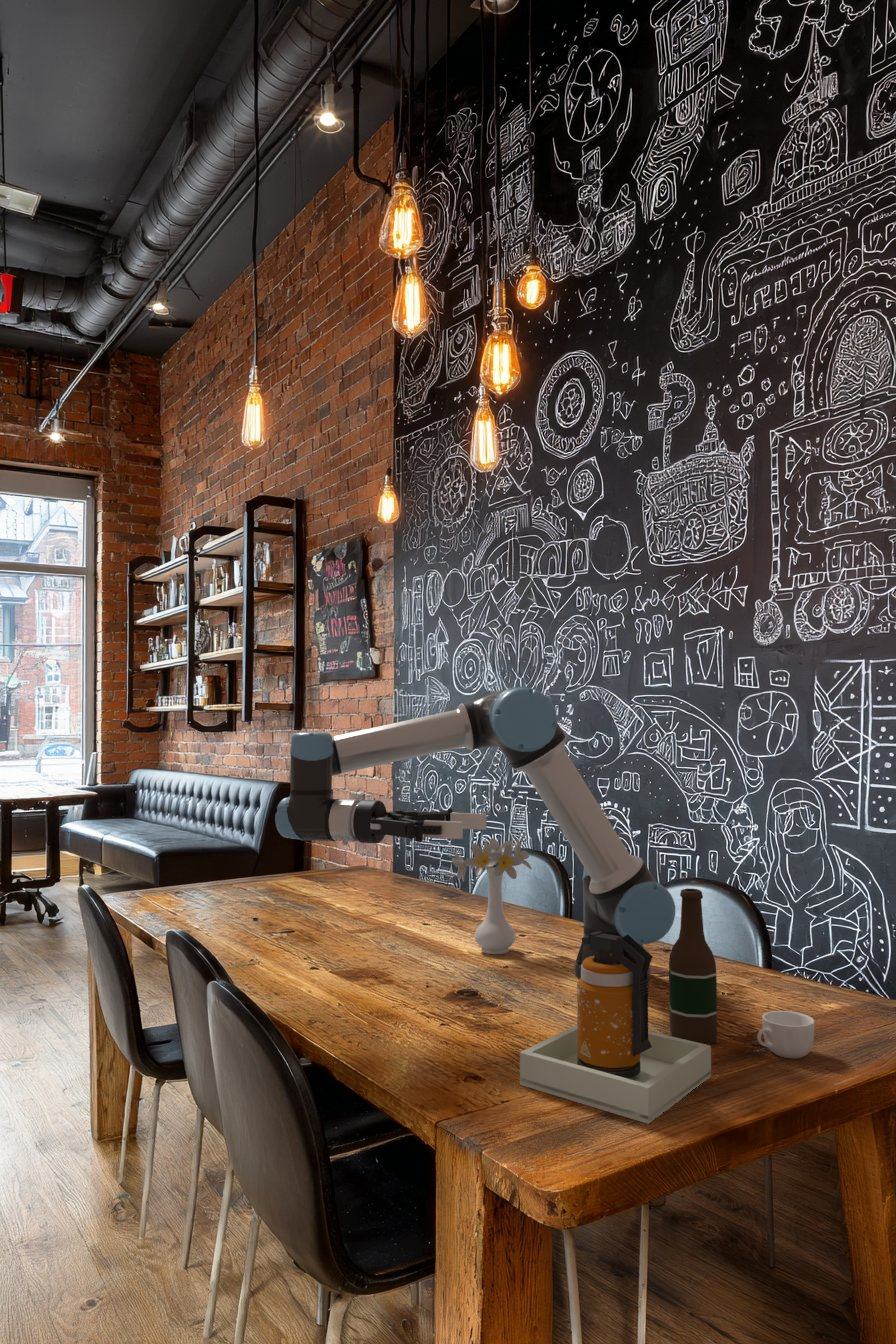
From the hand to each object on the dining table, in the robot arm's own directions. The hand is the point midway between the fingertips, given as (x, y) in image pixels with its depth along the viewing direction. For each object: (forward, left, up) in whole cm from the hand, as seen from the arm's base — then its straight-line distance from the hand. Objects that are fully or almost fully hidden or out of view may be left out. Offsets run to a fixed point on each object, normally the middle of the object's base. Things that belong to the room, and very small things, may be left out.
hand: (474, 825), depth 155 cm
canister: (+5, +29, -33) cm, 44 cm away
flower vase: (-44, -28, -34) cm, 62 cm away
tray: (+4, +29, -34) cm, 45 cm away
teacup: (-22, +44, -34) cm, 60 cm away
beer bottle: (-20, +30, -34) cm, 50 cm away
